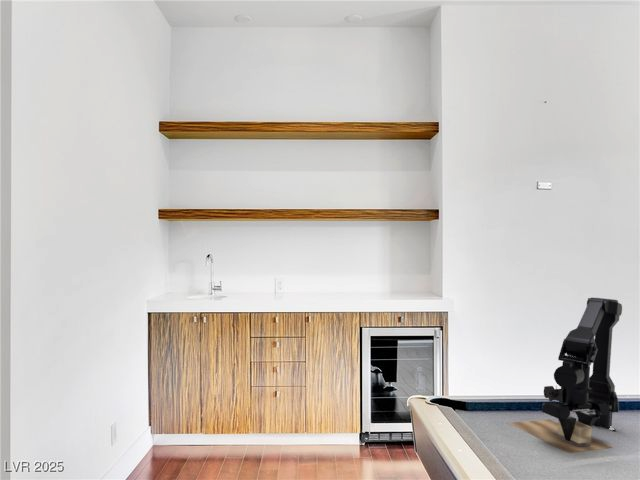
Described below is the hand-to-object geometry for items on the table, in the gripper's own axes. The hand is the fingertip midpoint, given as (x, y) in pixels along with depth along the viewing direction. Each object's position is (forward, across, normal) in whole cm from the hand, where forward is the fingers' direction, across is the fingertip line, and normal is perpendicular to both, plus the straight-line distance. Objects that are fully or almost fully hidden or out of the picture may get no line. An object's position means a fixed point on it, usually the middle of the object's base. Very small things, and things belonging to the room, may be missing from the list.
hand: (574, 439), depth 138 cm
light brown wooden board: (+2, 0, -5) cm, 6 cm away
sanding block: (0, 0, 0) cm, 1 cm away
